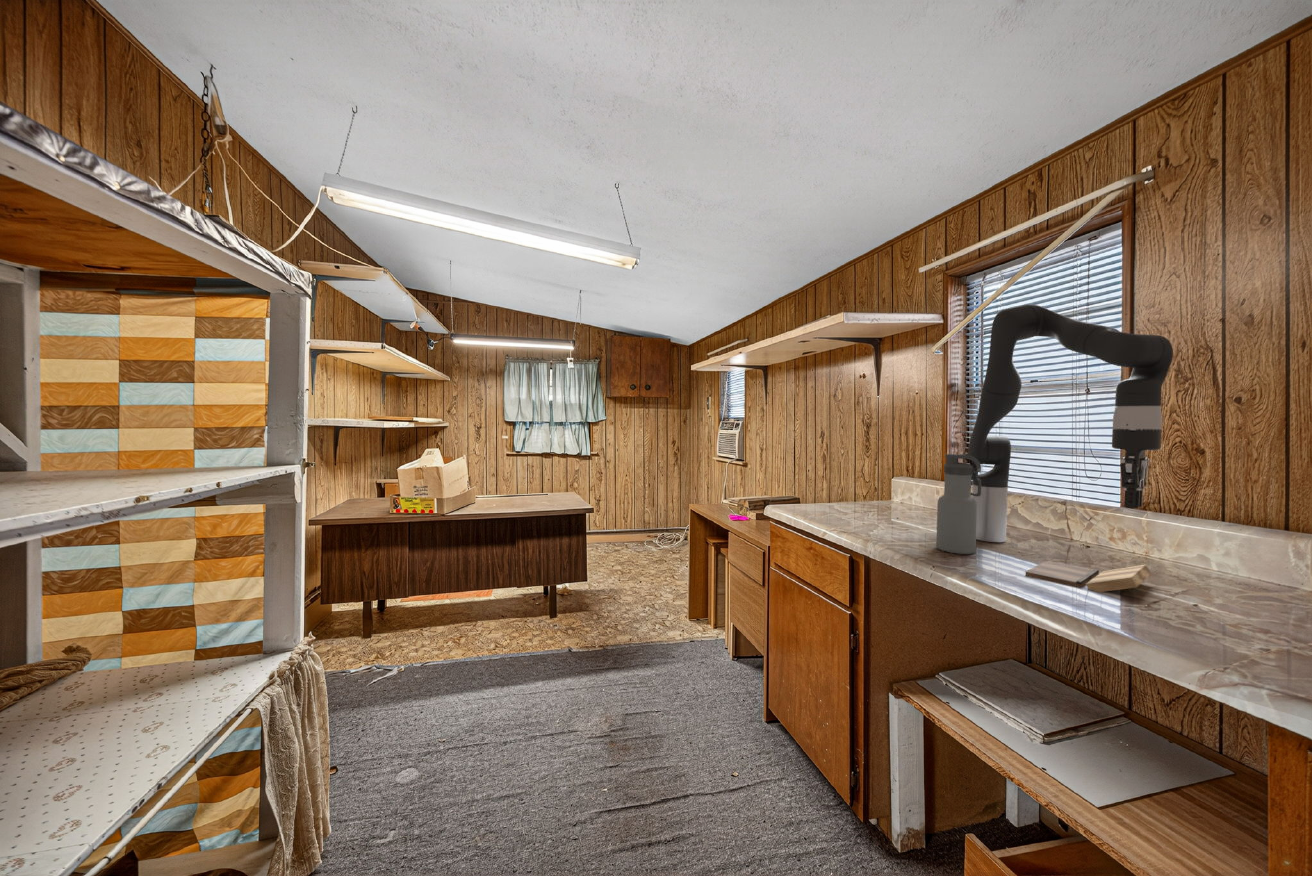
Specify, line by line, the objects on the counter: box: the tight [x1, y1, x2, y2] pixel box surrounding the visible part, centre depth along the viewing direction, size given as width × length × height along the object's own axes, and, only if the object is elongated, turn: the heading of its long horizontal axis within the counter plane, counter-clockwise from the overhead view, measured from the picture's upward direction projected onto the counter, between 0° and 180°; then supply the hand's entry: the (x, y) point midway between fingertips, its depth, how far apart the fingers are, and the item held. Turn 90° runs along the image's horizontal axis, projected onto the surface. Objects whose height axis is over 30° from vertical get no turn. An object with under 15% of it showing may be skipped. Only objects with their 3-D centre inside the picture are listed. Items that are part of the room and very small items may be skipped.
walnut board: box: [1024, 560, 1100, 589], centre depth 114 cm, size 16×10×2 cm, turn 127°
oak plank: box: [1085, 564, 1151, 593], centre depth 106 cm, size 16×8×2 cm, turn 127°
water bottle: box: [935, 453, 982, 555], centre depth 139 cm, size 10×10×28 cm
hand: (1133, 506), depth 104 cm, fingers closed
